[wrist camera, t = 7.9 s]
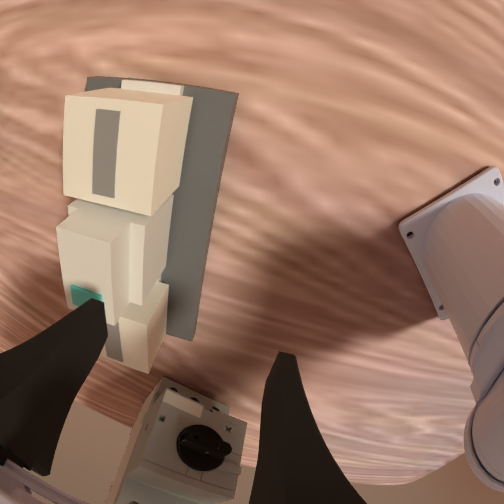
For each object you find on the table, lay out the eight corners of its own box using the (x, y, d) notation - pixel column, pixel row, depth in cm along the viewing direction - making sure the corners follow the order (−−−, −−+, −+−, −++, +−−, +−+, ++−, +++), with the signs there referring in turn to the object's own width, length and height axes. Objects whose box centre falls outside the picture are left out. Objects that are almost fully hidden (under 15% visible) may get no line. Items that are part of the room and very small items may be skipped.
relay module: (106, 178, 18) (41, 224, 12) (173, 194, 18) (123, 250, 12) (105, 248, 20) (55, 305, 15) (165, 266, 20) (126, 333, 15)
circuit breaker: (262, 380, 27) (237, 540, 15) (198, 430, 34) (170, 538, 22) (187, 344, 26) (129, 509, 13) (142, 404, 33) (100, 513, 20)
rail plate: (96, 76, 16) (35, 85, 11) (238, 93, 16) (213, 100, 11) (96, 301, 25) (64, 346, 20) (195, 332, 25) (175, 387, 20)
